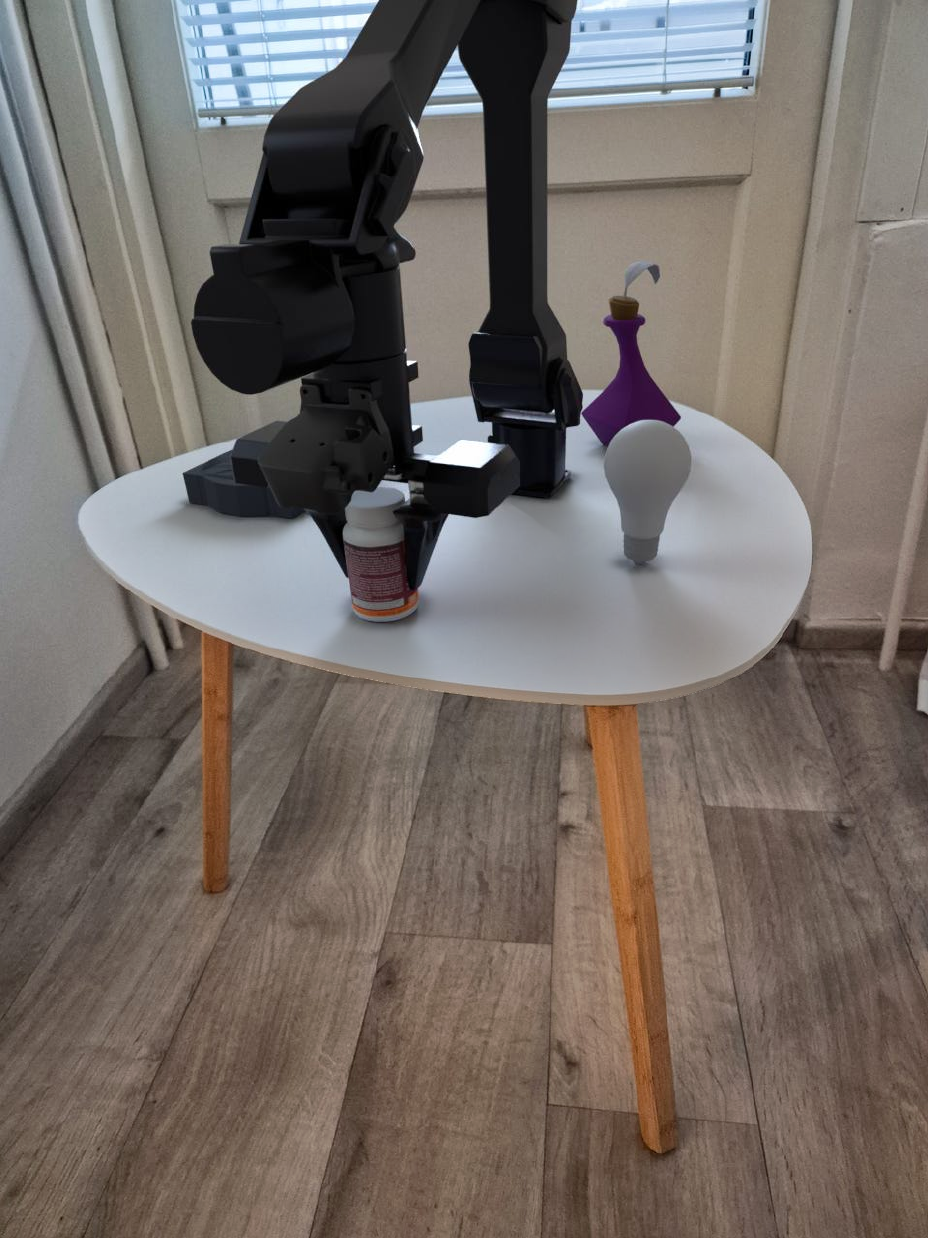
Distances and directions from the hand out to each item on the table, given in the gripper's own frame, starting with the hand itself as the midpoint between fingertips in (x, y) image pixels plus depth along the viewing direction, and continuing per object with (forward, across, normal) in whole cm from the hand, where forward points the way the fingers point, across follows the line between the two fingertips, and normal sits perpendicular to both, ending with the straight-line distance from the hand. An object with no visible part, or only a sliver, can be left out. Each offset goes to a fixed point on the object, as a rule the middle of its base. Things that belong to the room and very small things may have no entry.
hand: (383, 581), depth 56 cm
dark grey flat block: (+2, -22, +16) cm, 27 cm away
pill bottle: (+2, 0, 0) cm, 2 cm away
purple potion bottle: (+2, +7, +40) cm, 41 cm away
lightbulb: (+2, +15, +13) cm, 20 cm away
